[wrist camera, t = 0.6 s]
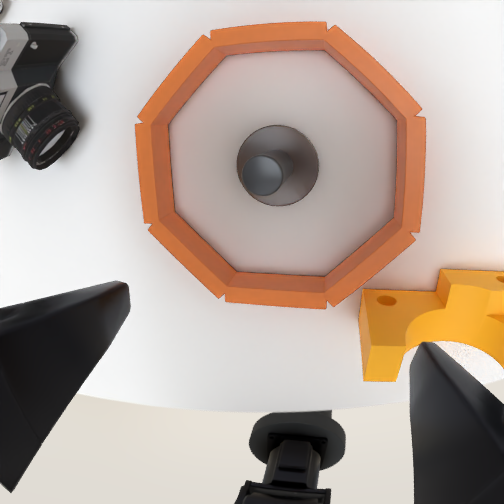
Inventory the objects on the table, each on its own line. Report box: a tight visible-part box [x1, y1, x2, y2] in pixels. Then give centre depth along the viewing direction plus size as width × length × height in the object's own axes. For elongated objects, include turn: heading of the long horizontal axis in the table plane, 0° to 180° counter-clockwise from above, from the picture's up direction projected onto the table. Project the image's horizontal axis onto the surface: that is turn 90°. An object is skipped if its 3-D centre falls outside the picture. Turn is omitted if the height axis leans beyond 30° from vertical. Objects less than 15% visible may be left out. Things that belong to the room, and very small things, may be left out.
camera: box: [0, 22, 79, 170], centre depth 18 cm, size 15×11×10 cm
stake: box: [237, 125, 319, 206], centre depth 17 cm, size 5×5×5 cm
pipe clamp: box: [358, 269, 504, 382], centre depth 17 cm, size 12×4×6 cm, turn 92°
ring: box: [135, 22, 426, 309], centre depth 18 cm, size 17×17×2 cm
